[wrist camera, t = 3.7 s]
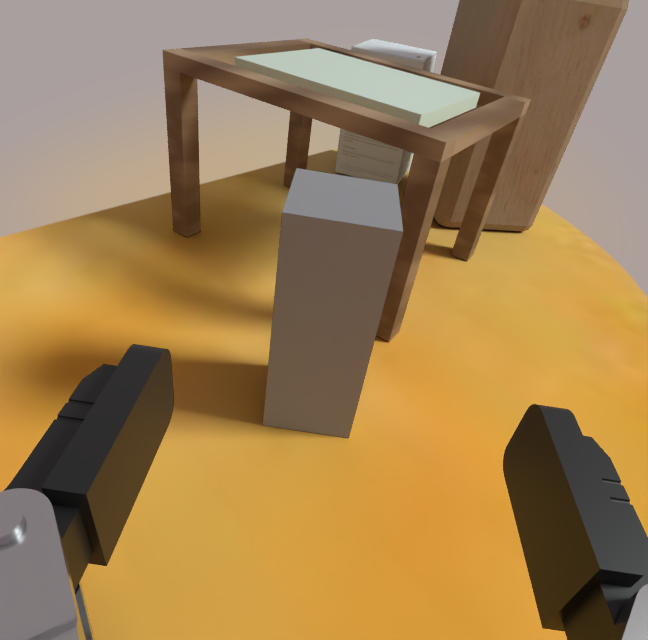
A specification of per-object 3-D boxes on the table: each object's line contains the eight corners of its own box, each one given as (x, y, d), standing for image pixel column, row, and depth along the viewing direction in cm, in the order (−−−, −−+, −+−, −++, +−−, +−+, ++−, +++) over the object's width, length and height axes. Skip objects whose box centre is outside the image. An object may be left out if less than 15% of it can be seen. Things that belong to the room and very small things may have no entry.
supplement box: (410, 169, 58) (440, 51, 50) (395, 190, 52) (426, 60, 45) (353, 154, 60) (373, 36, 52) (331, 172, 54) (351, 43, 46)
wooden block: (532, 235, 48) (640, -6, 36) (437, 230, 46) (517, -27, 34) (490, 192, 56) (568, -19, 43) (407, 186, 54) (464, -37, 41)
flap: (234, 73, 33) (234, 56, 33) (320, 61, 41) (322, 47, 40) (416, 132, 28) (421, 114, 27) (477, 106, 35) (482, 92, 35)
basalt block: (262, 425, 25) (282, 212, 18) (275, 366, 29) (296, 168, 21) (348, 438, 25) (403, 231, 18) (351, 377, 29) (397, 184, 21)
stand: (173, 230, 39) (162, 50, 31) (292, 180, 50) (307, 38, 43) (388, 342, 32) (446, 142, 24) (472, 255, 43) (531, 99, 35)
